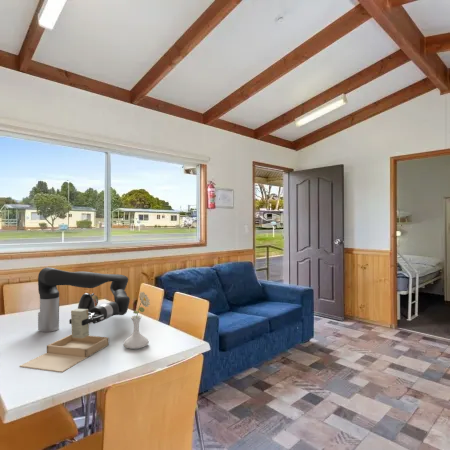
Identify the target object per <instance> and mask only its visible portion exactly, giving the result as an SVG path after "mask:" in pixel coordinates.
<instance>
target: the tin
mask: <svg viewBox="0 0 450 450" xmlns="http://www.w3.org/2000/svg"><path fill="white" fill-rule="evenodd" d="M92 298H93V300H94V303H95V307H97V306H99V305H98V304H99V297H98V295H96V294H94V295H93V296H92Z"/></svg>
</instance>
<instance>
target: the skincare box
mask: <svg viewBox="0 0 450 450" xmlns="http://www.w3.org/2000/svg"><path fill="white" fill-rule="evenodd" d="M70 313H71V314H70V316H71V318H70V319H71V324H70V325H71V334H72V337H74V338H84V337H87V336H90V330H89V329H90V328H89V327H90V326H89V325H90V324H86V325H84V326H83V325H82V320H85V319H87V318H88V309H78V308H76V309H73V310H70Z"/></svg>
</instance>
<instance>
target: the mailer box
mask: <svg viewBox="0 0 450 450" xmlns="http://www.w3.org/2000/svg"><path fill="white" fill-rule="evenodd" d="M109 343H110V342H109V336H96V335H89V336H87V337H84V338H74V337H72V333H70V334H69V335H66V336H65V337H63V338H59V339H58V340H56V341H53V342H51V343H49V344H47V345H46V352H45V353H43V354H41V355H39V356H37V357H34V358H32V359H31V360H29V361H27V362H24V363H22V364H20V365H19V368H25V369H26V368H27V369H33V370H40V371H48V372H56V373H64V372H66V371H68V370H69V369H71V368H72V367H74V366H75V365H78V364H79V363H81V362H82V361H84V360H86V359H87V358H89V357H91V356H92V355H94V354H96V353H97V352H99V351H101V350H102V349H104V348H106V347H107V346H109Z"/></svg>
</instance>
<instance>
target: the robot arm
mask: <svg viewBox="0 0 450 450" xmlns="http://www.w3.org/2000/svg"><path fill="white" fill-rule="evenodd" d="M109 282H111V283H110V286H109V288H110V292H111V293H112V295H113V298H114V299H113V300H114V301H110V302H107V303H104V304H103V303H102V304H100V305H97V306H96V307H94V308H92V309H91V310H90V311H89V312H88V318H87V319H85V320H82V325H83V326H84V325H86V324H89V325H91V324H93V325H94V324H98V323H101V322H103V321H105V320H107V319H109V318H111V317H113V316H124V315H125V314H127V312H128V309H129V306H130V301H131V300H130V299H131V298H130V297H129V296H128V294H127V291H125V290H126V288H127V284H128V283H129V277H128V276H126V275H123V274H116V273H114V274H113V273H112V274H111V273H98V272H92V271H66V270H63V269H57V268H54V267H43V268H42V269H41V270H40V271H39V273H38V276H37V286H38V293H39V312H38V313H37V316H38V317H37V321H38V322H37V331H39V332H41V333H49V332H50V333H51V332H54V331H57V330H59V329H60V291H59V290H58V286H71V287H75V288H81V289H82V288H83V289H94V288H97V287H99V286H102V285H103V284H105V283H106V284H107V283H109ZM68 322H69V323H68V324H69V325H71V318H70V319H69V321H68Z"/></svg>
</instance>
